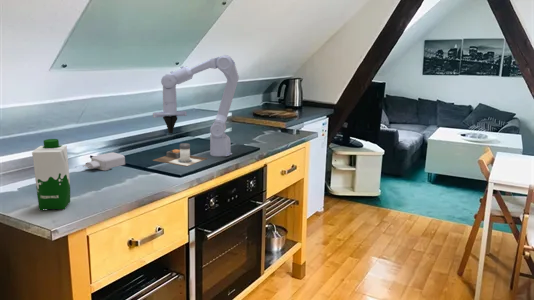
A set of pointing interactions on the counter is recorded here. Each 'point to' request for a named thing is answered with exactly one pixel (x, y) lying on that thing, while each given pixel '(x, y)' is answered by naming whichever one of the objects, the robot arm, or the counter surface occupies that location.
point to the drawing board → (178, 159)
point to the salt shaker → (184, 152)
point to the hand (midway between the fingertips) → (170, 132)
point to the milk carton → (52, 175)
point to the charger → (106, 161)
